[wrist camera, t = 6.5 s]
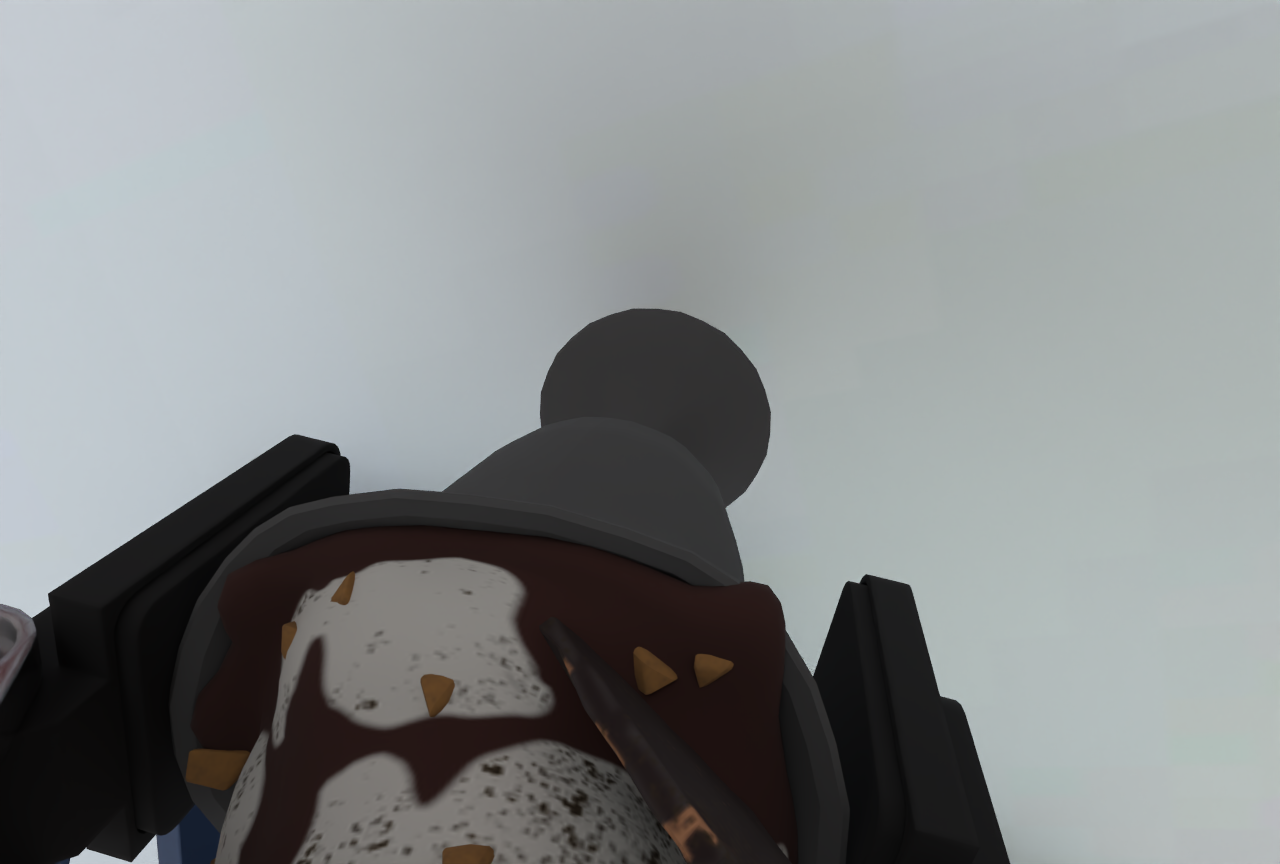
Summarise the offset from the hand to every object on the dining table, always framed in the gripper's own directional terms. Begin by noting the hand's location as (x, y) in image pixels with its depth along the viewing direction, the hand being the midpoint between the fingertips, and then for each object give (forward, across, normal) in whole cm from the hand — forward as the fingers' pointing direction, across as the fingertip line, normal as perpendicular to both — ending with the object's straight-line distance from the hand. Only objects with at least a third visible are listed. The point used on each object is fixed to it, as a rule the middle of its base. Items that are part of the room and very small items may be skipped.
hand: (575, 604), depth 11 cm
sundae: (+7, 0, 0) cm, 7 cm away
